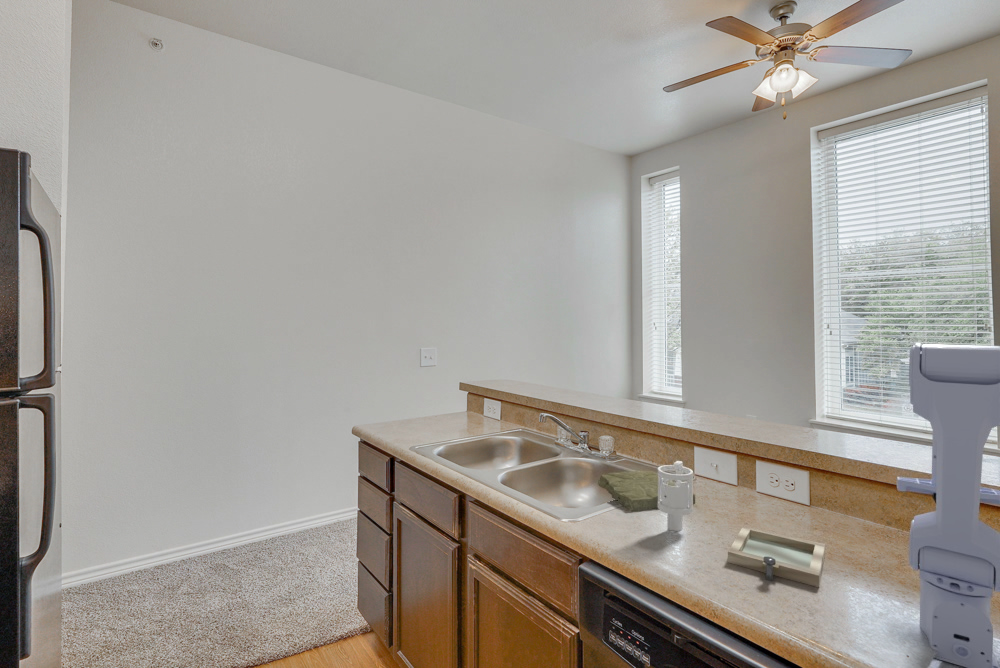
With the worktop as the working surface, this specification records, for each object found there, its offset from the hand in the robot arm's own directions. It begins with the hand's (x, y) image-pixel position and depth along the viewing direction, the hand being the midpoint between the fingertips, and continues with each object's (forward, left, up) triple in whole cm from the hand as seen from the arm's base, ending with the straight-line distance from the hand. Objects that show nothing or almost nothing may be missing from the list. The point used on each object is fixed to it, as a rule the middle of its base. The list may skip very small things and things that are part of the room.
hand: (953, 541), depth 79 cm
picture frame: (-5, +25, -8) cm, 26 cm away
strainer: (-1, +44, -10) cm, 45 cm away
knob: (-13, +25, -9) cm, 30 cm away
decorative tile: (+19, +58, -10) cm, 62 cm away
